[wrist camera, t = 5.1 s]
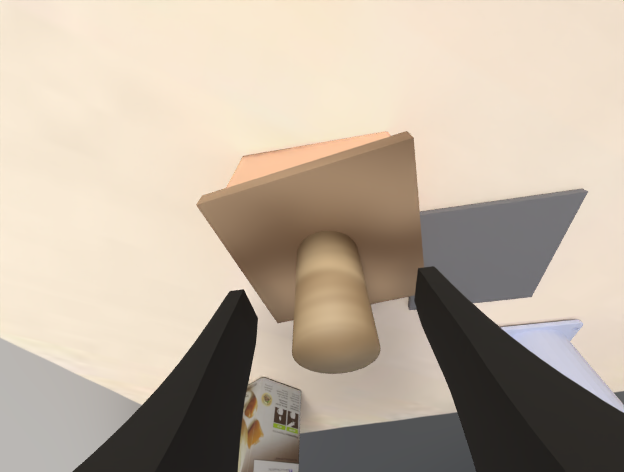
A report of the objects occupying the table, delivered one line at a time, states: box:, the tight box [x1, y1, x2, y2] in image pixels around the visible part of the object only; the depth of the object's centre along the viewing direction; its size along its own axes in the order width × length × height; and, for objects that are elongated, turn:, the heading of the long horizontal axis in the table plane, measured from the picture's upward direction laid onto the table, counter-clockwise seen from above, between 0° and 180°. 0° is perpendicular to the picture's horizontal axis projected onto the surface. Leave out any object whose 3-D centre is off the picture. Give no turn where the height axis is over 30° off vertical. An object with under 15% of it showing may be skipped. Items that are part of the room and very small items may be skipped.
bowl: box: [226, 132, 390, 188], centre depth 15 cm, size 8×8×4 cm
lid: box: [197, 131, 424, 374], centre depth 11 cm, size 9×9×6 cm
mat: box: [408, 189, 588, 310], centre depth 20 cm, size 10×10×1 cm
